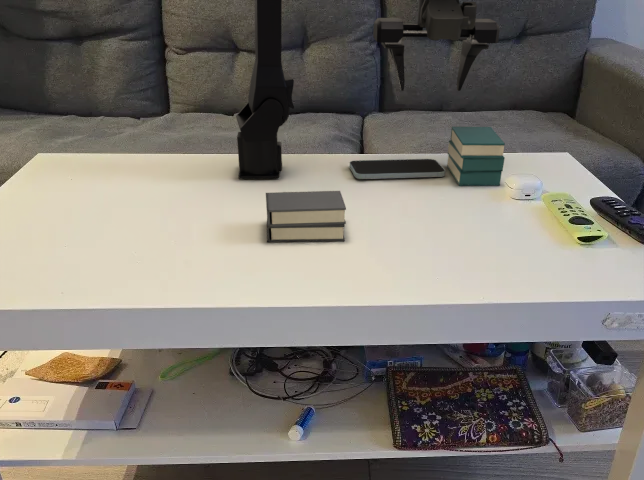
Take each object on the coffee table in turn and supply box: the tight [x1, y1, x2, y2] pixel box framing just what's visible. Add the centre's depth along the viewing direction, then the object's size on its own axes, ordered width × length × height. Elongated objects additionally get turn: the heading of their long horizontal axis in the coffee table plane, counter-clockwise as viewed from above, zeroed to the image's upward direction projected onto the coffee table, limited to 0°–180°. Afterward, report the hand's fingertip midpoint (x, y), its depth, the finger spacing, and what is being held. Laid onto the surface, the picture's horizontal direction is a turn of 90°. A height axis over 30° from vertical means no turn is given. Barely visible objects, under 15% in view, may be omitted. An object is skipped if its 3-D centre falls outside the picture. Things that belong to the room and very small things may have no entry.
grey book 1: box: [265, 190, 347, 227], centre depth 87 cm, size 10×6×2 cm, turn 97°
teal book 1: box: [449, 126, 505, 158], centre depth 107 cm, size 10×6×2 cm, turn 2°
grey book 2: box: [266, 221, 346, 243], centre depth 89 cm, size 10×6×2 cm, turn 94°
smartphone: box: [348, 158, 446, 180], centre depth 110 cm, size 7×1×15 cm
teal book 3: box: [446, 154, 503, 187], centre depth 109 cm, size 10×6×2 cm, turn 4°
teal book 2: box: [447, 139, 506, 172], centre depth 108 cm, size 10×6×2 cm, turn 6°
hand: (430, 90), depth 108 cm, fingers open, 9 cm apart
